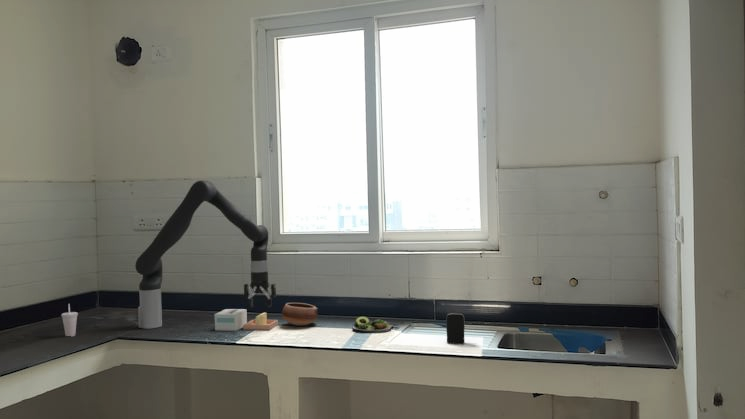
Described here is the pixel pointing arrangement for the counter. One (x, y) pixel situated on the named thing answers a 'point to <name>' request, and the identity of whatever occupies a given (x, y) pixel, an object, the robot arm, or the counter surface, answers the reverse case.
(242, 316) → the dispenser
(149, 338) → the counter surface
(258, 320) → the pale yellow flat piece
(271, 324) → the dish
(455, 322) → the battery
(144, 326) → the robot arm
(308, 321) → the bowl
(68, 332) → the smoothie
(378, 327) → the salad plate
